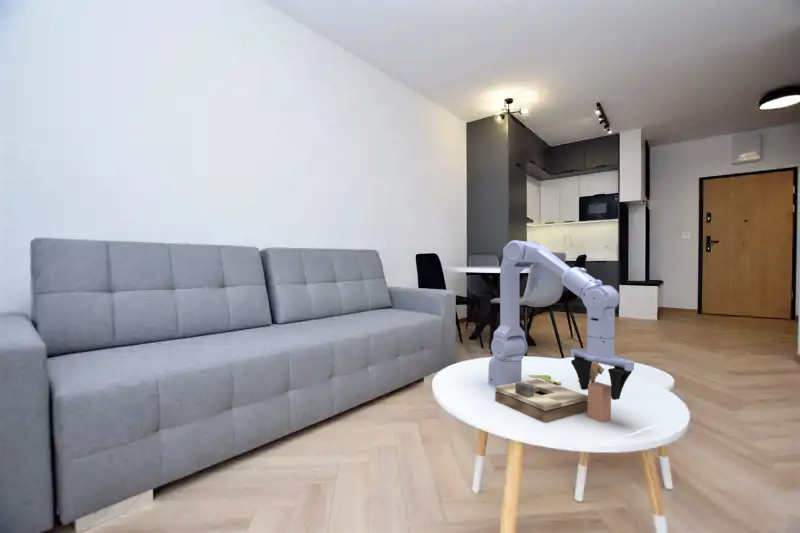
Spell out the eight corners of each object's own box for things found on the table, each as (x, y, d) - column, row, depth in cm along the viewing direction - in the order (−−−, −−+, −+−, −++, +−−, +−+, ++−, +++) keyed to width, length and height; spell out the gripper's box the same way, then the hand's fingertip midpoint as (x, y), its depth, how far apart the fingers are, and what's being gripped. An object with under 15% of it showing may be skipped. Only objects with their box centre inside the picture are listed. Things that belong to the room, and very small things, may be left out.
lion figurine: (605, 393, 109) (606, 362, 109) (586, 391, 110) (586, 361, 110) (588, 378, 124) (589, 351, 124) (571, 377, 125) (571, 350, 125)
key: (555, 389, 113) (555, 382, 113) (525, 378, 124) (525, 372, 124) (572, 386, 116) (572, 380, 116) (541, 376, 127) (541, 370, 127)
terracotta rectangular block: (587, 419, 89) (588, 383, 90) (596, 416, 91) (597, 381, 91) (601, 425, 86) (602, 388, 86) (610, 422, 88) (611, 386, 88)
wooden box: (495, 402, 99) (495, 391, 99) (536, 393, 107) (536, 383, 107) (545, 425, 86) (545, 412, 86) (588, 413, 93) (588, 401, 93)
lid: (495, 390, 99) (495, 377, 99) (536, 382, 107) (537, 370, 107) (545, 410, 86) (545, 395, 86) (589, 399, 93) (589, 385, 93)
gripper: (562, 332, 93) (562, 387, 93) (621, 343, 81) (620, 406, 81) (580, 330, 97) (580, 383, 97) (639, 340, 84) (638, 401, 84)
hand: (599, 393), depth 89 cm, fingers open, 7 cm apart
